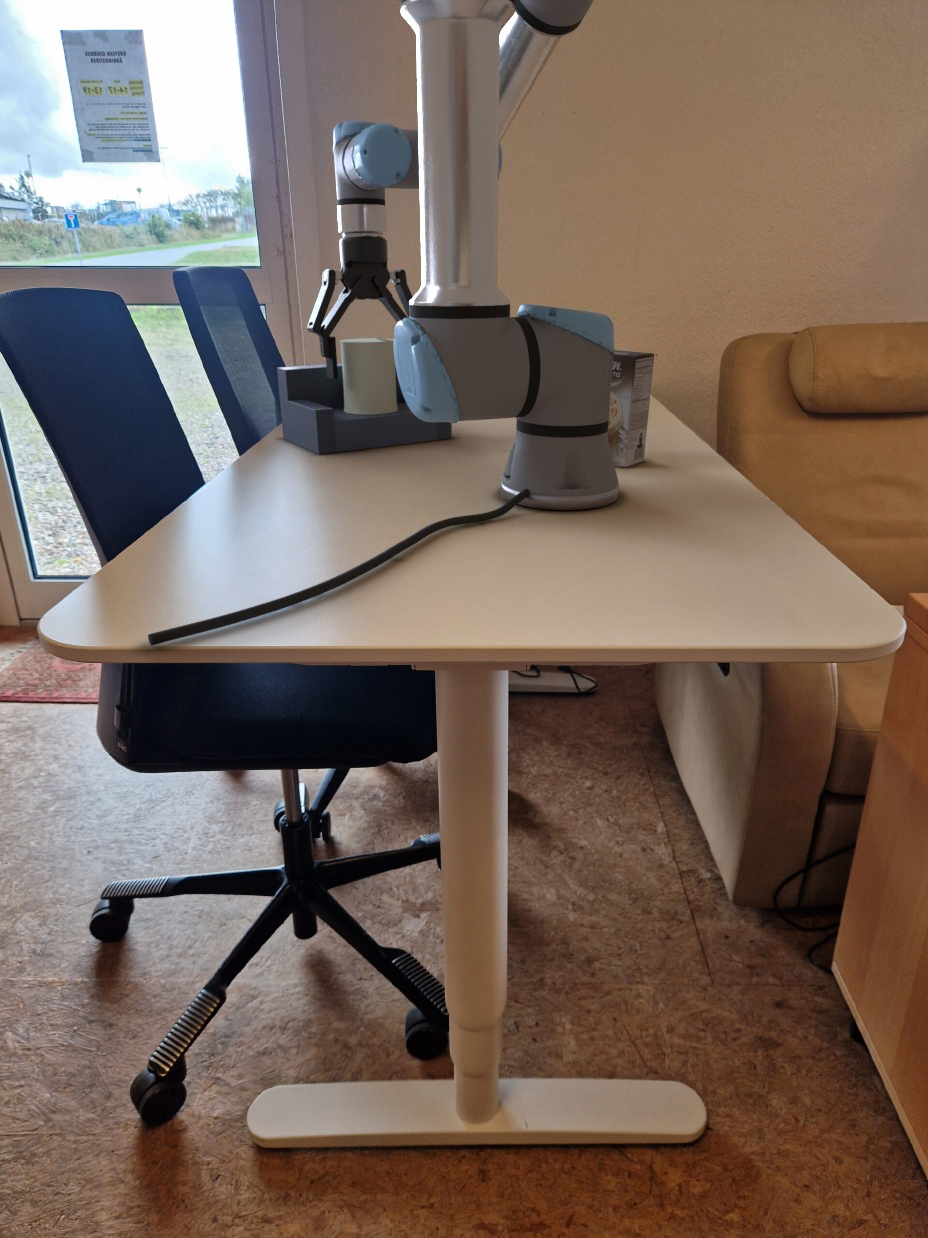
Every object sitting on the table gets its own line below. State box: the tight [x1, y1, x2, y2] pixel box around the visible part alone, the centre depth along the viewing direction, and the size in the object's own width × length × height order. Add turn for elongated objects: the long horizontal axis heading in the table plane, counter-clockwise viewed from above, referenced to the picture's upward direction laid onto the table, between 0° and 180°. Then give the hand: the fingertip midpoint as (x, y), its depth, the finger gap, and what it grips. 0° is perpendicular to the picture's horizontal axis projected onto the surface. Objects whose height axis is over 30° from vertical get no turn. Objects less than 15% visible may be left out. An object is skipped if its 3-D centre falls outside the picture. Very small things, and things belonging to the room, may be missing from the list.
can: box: [339, 336, 398, 415], centre depth 138 cm, size 9×9×12 cm
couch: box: [276, 362, 453, 455], centre depth 141 cm, size 16×25×12 cm, turn 122°
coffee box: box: [608, 349, 655, 468], centre depth 124 cm, size 9×6×16 cm
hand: (370, 375), depth 137 cm, fingers open, 13 cm apart
